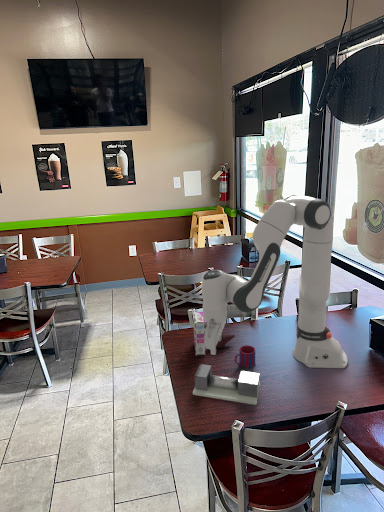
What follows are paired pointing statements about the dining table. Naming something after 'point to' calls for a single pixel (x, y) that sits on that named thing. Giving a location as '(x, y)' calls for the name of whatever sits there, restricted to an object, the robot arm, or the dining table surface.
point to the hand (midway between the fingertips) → (216, 346)
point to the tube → (222, 382)
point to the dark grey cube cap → (248, 384)
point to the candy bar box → (199, 333)
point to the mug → (246, 356)
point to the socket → (202, 377)
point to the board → (225, 394)
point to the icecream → (224, 340)
